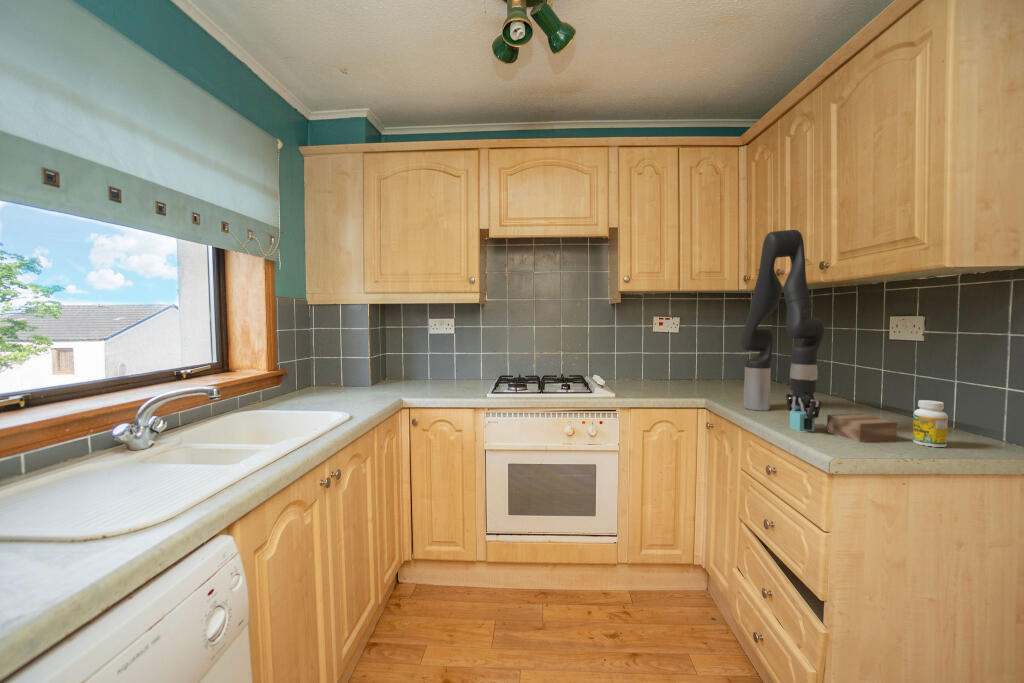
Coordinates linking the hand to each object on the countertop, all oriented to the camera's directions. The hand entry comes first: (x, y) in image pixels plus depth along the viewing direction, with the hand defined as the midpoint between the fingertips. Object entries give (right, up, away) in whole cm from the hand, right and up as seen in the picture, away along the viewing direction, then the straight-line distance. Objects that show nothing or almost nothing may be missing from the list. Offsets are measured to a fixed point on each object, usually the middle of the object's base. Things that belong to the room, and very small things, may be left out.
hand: (801, 427), depth 141 cm
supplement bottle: (+26, -2, -17) cm, 31 cm away
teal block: (0, -1, 0) cm, 1 cm away
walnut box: (+13, -2, -8) cm, 15 cm away
